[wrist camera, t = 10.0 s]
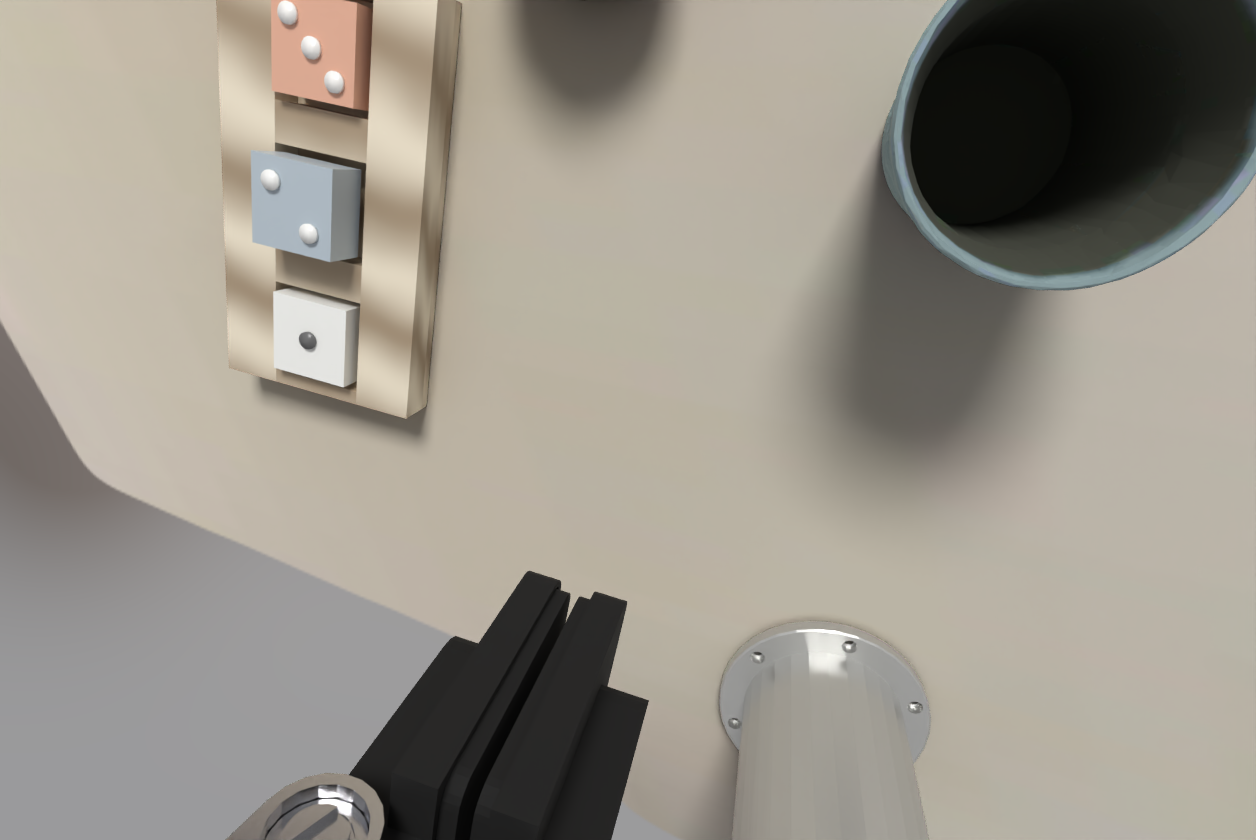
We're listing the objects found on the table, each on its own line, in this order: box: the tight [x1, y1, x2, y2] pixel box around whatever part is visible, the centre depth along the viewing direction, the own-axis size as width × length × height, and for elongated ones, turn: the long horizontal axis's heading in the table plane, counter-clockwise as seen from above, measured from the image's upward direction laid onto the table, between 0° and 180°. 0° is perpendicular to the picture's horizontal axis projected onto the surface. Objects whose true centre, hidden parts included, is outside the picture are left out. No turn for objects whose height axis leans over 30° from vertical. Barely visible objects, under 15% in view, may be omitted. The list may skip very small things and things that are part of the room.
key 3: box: [271, 0, 373, 111], centre depth 33 cm, size 5×5×3 cm
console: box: [216, 0, 462, 419], centre depth 37 cm, size 22×12×2 cm, turn 169°
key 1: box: [273, 287, 360, 387], centre depth 39 cm, size 5×5×3 cm
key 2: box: [251, 150, 361, 262], centre depth 35 cm, size 5×5×3 cm
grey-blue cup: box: [881, 0, 1256, 290], centre depth 25 cm, size 10×10×12 cm
